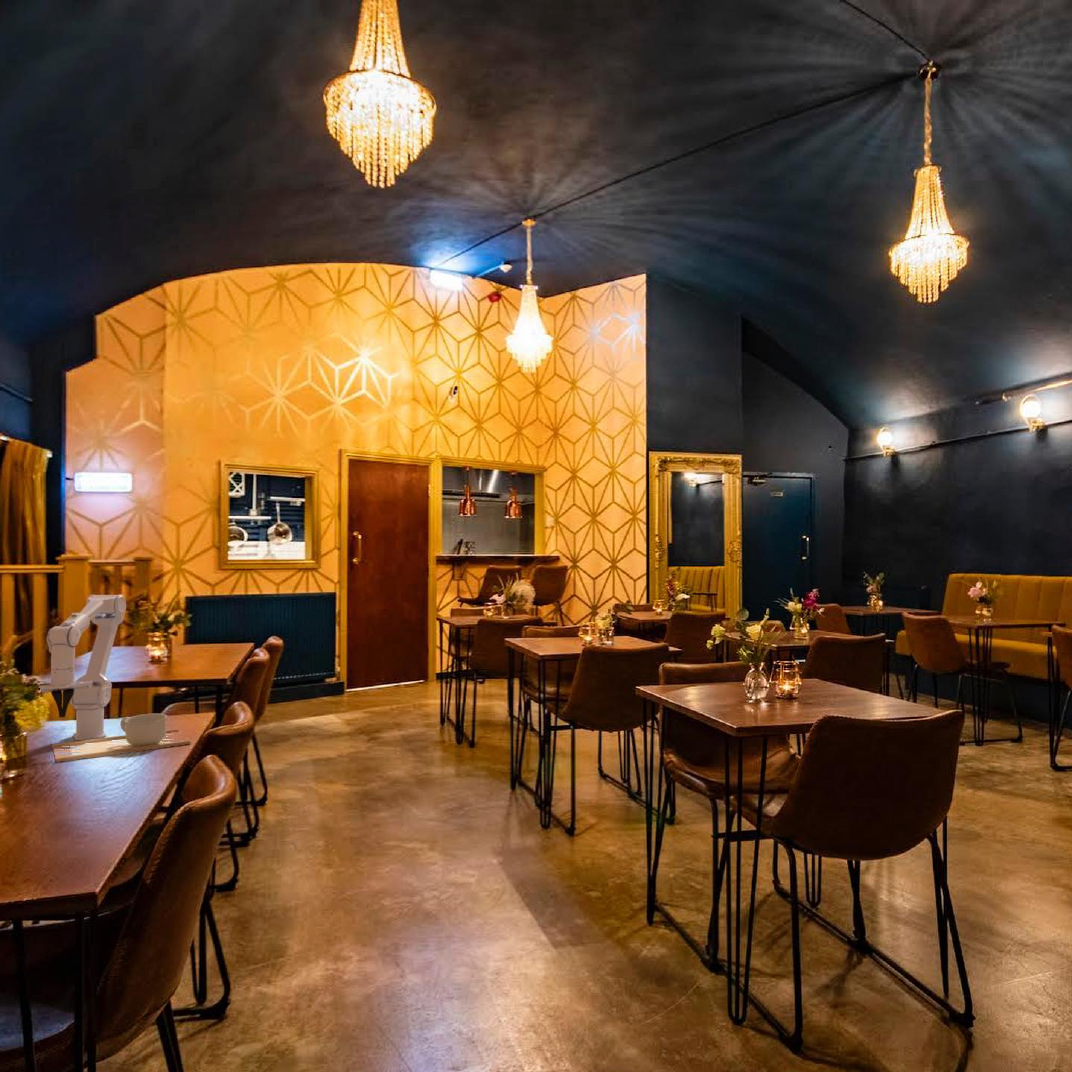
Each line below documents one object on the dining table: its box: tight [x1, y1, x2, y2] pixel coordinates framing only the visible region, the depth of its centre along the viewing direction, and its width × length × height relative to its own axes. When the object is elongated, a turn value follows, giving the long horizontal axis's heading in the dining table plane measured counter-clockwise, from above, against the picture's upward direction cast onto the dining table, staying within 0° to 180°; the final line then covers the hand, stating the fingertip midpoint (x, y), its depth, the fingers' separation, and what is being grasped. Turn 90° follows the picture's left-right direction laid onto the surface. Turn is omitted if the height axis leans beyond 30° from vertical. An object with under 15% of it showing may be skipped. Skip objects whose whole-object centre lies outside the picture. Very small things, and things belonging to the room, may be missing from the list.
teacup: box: [120, 713, 168, 747], centre depth 218 cm, size 14×11×8 cm
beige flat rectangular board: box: [51, 728, 191, 763], centre depth 217 cm, size 19×33×1 cm, turn 126°
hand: (62, 716), depth 213 cm, fingers closed
